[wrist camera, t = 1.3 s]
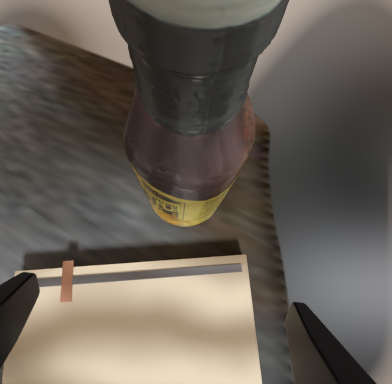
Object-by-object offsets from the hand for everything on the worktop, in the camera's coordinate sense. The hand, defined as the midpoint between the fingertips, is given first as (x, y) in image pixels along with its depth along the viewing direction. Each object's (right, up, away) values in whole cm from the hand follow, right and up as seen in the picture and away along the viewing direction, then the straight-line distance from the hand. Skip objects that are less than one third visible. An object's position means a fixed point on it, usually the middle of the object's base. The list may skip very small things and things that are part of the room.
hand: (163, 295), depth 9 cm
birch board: (-3, -7, +12) cm, 14 cm away
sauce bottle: (0, +3, +15) cm, 15 cm away
